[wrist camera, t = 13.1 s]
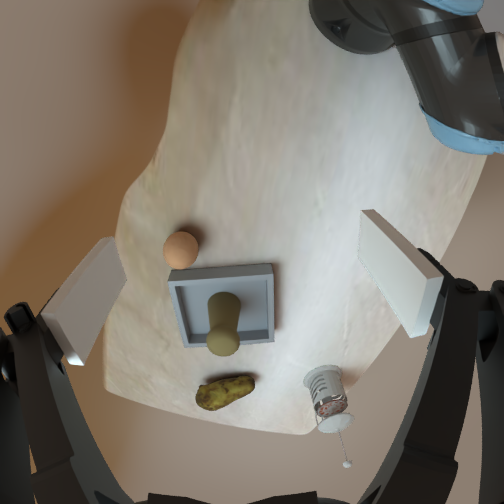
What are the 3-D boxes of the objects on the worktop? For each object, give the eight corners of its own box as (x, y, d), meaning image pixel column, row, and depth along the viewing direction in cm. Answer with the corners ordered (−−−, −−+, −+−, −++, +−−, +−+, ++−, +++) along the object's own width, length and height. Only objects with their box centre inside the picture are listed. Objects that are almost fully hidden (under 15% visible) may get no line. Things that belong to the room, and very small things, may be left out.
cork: (246, 299, 52) (250, 342, 42) (232, 322, 54) (232, 366, 44) (215, 286, 50) (212, 328, 40) (202, 311, 52) (196, 354, 42)
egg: (191, 220, 45) (185, 238, 39) (205, 249, 48) (202, 270, 41) (162, 232, 46) (151, 252, 40) (176, 260, 48) (169, 282, 42)
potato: (249, 391, 66) (251, 418, 58) (196, 387, 64) (194, 414, 57) (256, 370, 62) (258, 399, 55) (198, 365, 60) (195, 394, 53)
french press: (348, 365, 64) (381, 453, 41) (329, 394, 69) (352, 475, 46) (312, 363, 62) (338, 460, 40) (295, 393, 67) (312, 480, 45)
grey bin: (270, 263, 50) (273, 273, 46) (272, 329, 56) (274, 341, 53) (171, 270, 49) (167, 281, 46) (186, 335, 56) (184, 347, 53)
